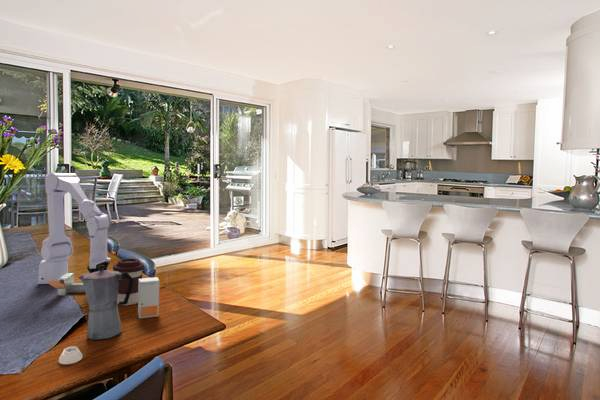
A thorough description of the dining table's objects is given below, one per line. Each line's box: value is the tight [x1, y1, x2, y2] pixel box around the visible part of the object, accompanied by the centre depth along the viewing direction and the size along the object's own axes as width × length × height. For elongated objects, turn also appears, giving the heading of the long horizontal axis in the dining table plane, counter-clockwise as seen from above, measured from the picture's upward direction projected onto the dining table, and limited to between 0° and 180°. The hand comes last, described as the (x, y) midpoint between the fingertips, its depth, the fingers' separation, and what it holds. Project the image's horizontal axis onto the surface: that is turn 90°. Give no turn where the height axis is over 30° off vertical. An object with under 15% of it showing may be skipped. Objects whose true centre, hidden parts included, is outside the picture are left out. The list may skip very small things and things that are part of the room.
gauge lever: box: [48, 281, 66, 290], centre depth 135 cm, size 3×8×1 cm, turn 11°
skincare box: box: [137, 276, 160, 319], centre depth 124 cm, size 6×4×12 cm
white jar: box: [58, 345, 83, 365], centre depth 94 cm, size 5×3×5 cm
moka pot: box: [78, 265, 134, 341], centre depth 109 cm, size 10×15×20 cm, turn 95°
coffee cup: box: [112, 257, 145, 306], centre depth 135 cm, size 10×10×15 cm
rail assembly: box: [57, 272, 86, 295], centre depth 144 cm, size 18×8×6 cm, turn 101°
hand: (98, 282), depth 145 cm, fingers closed on carriage, 4 cm apart
